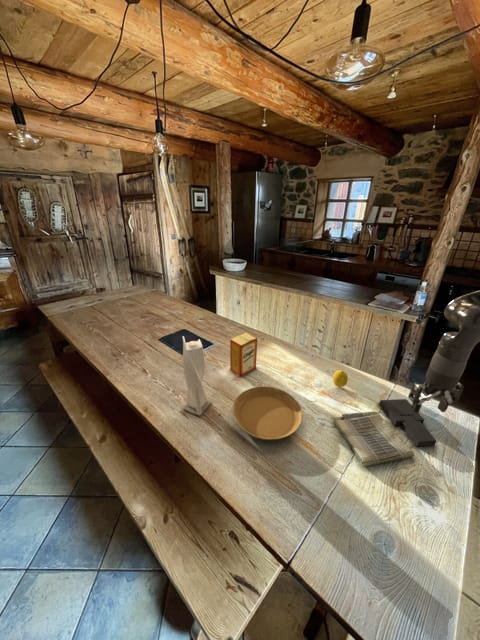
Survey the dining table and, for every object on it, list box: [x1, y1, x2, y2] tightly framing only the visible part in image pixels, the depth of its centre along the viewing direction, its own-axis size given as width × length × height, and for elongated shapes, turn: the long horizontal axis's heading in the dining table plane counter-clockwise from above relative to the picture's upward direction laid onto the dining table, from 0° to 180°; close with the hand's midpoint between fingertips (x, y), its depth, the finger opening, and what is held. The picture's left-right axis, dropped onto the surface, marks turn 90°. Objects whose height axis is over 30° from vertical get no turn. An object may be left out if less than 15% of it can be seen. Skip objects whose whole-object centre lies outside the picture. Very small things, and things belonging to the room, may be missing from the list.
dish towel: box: [333, 410, 415, 467], centre depth 85 cm, size 19×18×3 cm
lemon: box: [332, 369, 349, 388], centre depth 107 cm, size 6×6×8 cm
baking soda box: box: [229, 332, 258, 378], centre depth 115 cm, size 10×6×16 cm
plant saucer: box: [232, 385, 303, 441], centre depth 93 cm, size 24×24×3 cm
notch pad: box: [378, 398, 425, 427], centre depth 95 cm, size 10×10×2 cm
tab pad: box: [400, 415, 438, 448], centre depth 88 cm, size 6×10×2 cm, turn 4°
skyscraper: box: [182, 336, 212, 417], centre depth 92 cm, size 8×8×28 cm
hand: (427, 410), depth 82 cm, fingers open, 8 cm apart
